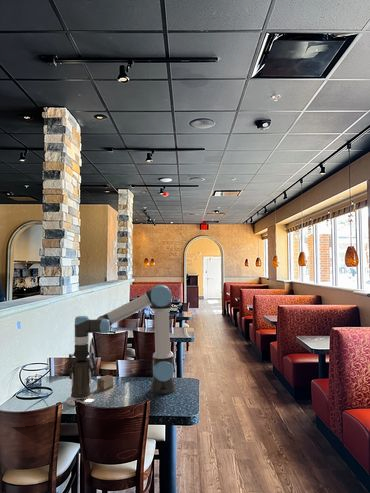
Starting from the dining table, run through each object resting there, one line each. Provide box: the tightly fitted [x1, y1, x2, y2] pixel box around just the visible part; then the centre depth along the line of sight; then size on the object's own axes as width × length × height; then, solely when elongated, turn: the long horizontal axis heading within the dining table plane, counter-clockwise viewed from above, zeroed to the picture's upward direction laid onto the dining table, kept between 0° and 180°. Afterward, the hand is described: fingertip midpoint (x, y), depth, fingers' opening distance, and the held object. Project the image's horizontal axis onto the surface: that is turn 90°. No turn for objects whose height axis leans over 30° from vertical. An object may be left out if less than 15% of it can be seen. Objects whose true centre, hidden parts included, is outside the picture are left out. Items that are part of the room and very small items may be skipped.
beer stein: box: [70, 358, 91, 398], centre depth 215 cm, size 15×11×20 cm
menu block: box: [96, 374, 114, 392], centre depth 235 cm, size 5×9×7 cm, turn 149°
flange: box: [65, 394, 96, 407], centre depth 214 cm, size 16×16×1 cm
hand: (81, 383), depth 215 cm, fingers closed on beer stein, 9 cm apart
